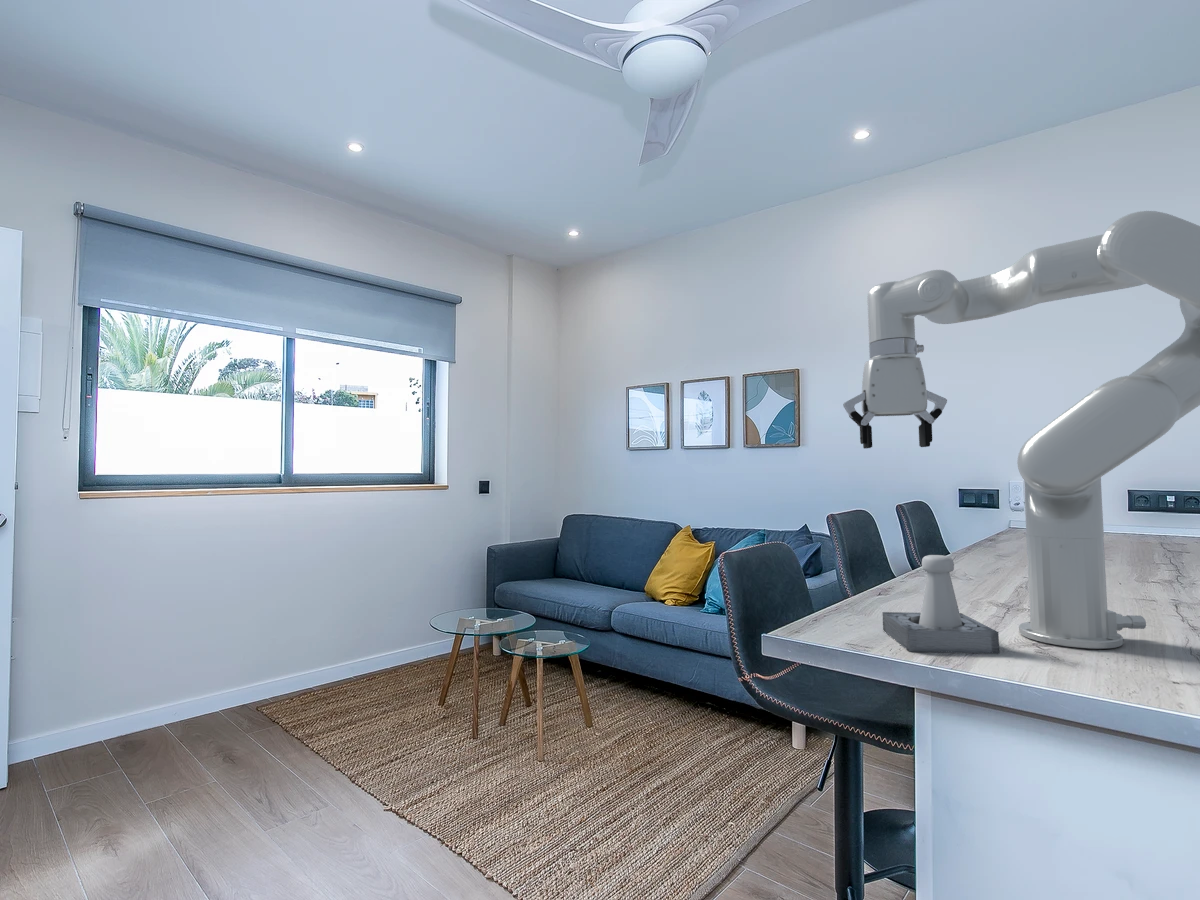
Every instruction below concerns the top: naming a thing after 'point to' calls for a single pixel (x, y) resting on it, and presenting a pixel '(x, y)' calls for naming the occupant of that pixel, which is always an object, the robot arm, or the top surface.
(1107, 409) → the robot arm
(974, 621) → the block
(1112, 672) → the top surface
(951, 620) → the salt shaker
